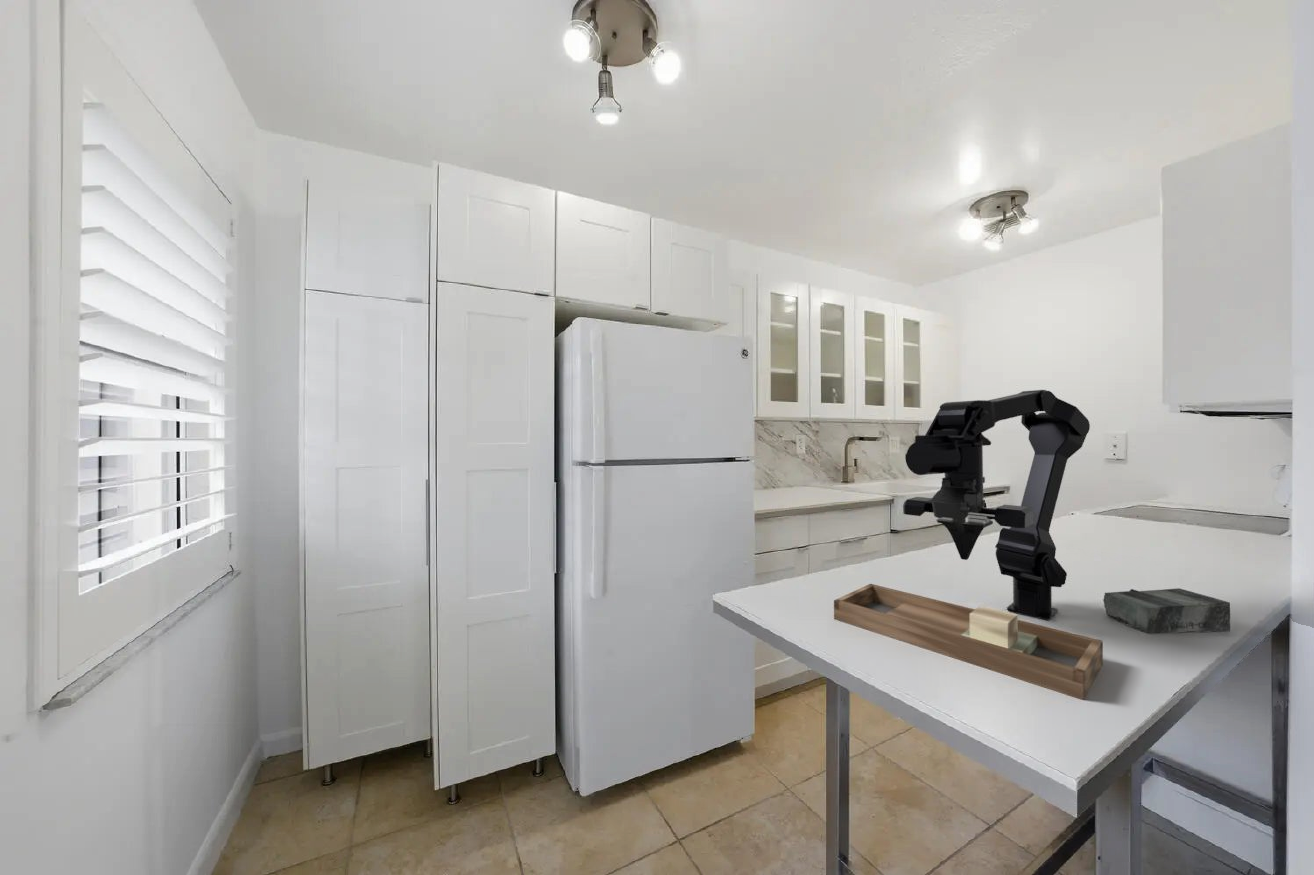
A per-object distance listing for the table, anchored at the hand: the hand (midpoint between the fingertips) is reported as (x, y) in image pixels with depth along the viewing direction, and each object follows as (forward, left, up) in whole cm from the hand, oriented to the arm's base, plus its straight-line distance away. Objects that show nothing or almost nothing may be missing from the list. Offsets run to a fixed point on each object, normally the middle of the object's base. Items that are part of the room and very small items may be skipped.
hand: (964, 559), depth 84 cm
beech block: (+8, +6, -10) cm, 14 cm away
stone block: (-27, +22, -12) cm, 37 cm away
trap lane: (+7, 0, -12) cm, 14 cm away
